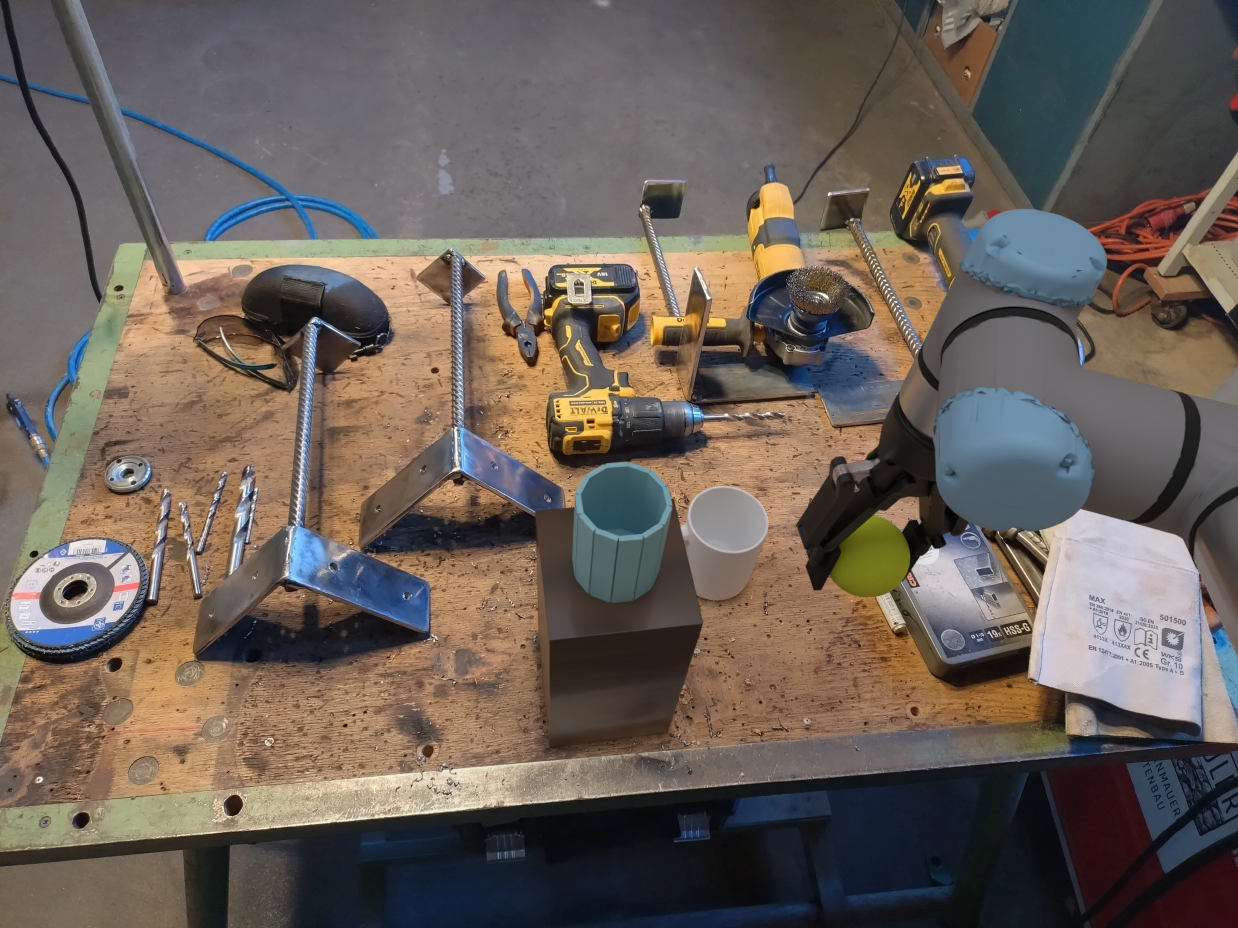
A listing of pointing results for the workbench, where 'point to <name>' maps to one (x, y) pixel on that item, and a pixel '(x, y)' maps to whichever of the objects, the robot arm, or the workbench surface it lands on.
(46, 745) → the workbench surface
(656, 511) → the tumbler
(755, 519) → the mug
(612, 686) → the dark brown block
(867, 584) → the ball
